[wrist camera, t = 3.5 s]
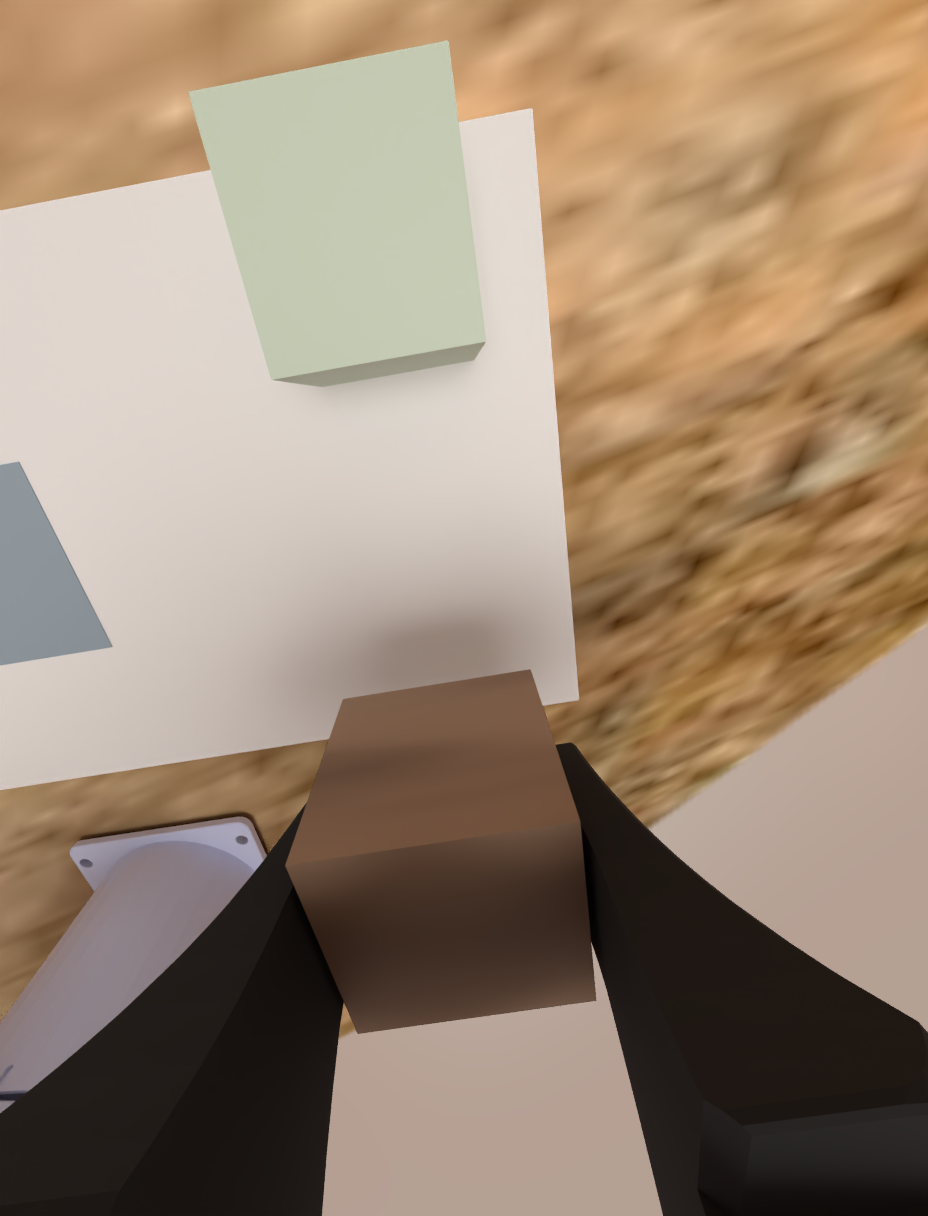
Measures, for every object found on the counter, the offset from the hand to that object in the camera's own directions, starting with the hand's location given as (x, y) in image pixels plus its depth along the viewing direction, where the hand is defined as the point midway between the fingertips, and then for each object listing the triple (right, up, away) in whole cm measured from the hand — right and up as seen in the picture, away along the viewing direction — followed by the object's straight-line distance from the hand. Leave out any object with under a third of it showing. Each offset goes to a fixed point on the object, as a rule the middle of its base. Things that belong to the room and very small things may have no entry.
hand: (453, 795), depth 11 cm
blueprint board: (-9, +7, +5) cm, 12 cm away
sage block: (-2, +13, +2) cm, 13 cm away
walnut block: (0, 0, +1) cm, 1 cm away
